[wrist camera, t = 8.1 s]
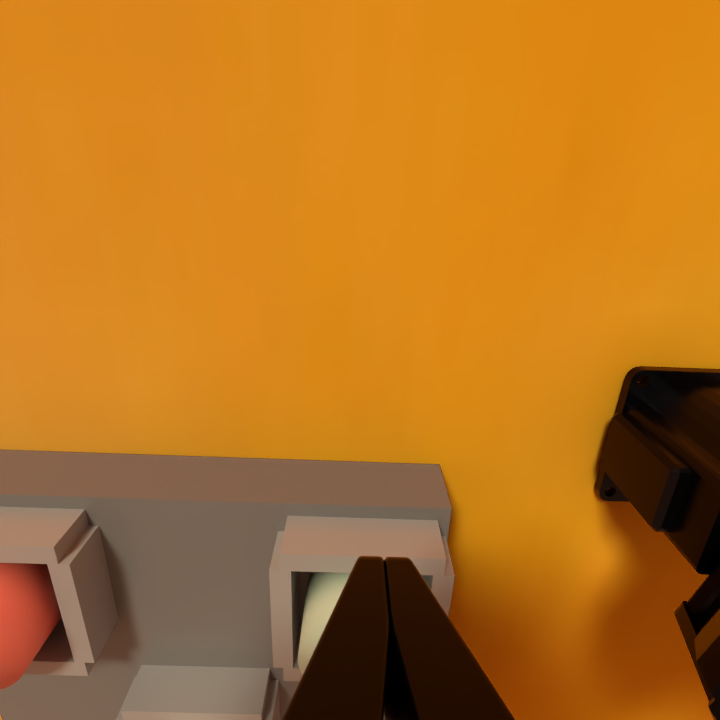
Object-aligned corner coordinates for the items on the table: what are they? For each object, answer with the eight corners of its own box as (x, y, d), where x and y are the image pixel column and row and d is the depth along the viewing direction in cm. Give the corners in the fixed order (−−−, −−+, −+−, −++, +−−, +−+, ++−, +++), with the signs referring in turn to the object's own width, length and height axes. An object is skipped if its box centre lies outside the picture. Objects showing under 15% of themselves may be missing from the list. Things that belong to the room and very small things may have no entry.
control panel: (439, 464, 21) (462, 546, 16) (409, 705, 27) (419, 814, 23) (-27, 449, 21) (-139, 528, 16) (52, 697, 27) (-12, 805, 22)
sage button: (416, 551, 18) (426, 618, 16) (407, 629, 20) (415, 702, 17) (306, 548, 18) (297, 615, 16) (306, 626, 20) (298, 699, 17)
